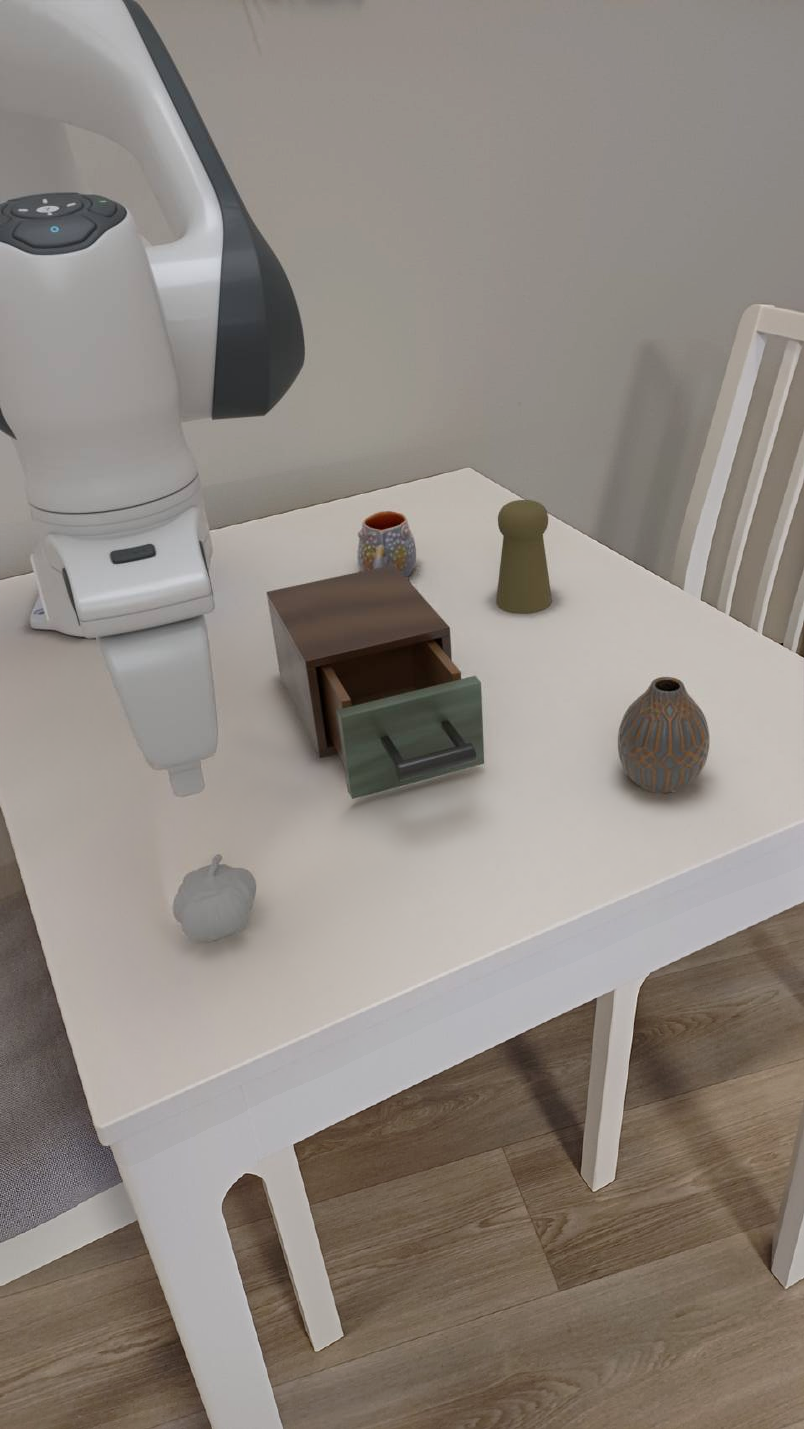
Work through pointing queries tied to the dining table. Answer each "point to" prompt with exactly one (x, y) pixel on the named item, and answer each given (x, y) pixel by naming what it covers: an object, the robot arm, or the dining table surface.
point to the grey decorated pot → (386, 543)
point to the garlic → (214, 901)
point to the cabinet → (345, 631)
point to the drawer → (401, 717)
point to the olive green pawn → (523, 558)
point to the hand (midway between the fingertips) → (177, 746)
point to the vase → (663, 738)
